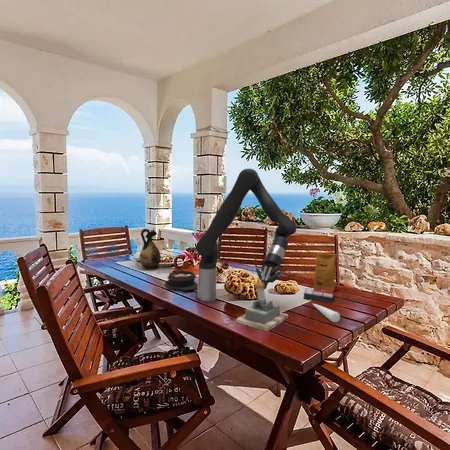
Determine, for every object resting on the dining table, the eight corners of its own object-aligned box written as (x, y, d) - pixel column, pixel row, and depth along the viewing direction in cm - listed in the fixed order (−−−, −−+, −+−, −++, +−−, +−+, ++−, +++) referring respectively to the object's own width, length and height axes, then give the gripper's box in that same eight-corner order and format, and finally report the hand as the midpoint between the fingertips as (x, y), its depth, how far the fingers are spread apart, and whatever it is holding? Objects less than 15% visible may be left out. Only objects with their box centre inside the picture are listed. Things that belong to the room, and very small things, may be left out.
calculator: (333, 296, 169) (304, 292, 175) (332, 304, 170) (303, 299, 175) (334, 290, 180) (306, 286, 185) (333, 298, 180) (306, 293, 185)
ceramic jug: (154, 265, 252) (154, 227, 249) (164, 269, 240) (164, 228, 237) (134, 268, 241) (133, 228, 238) (143, 272, 229) (142, 230, 226)
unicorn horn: (319, 304, 168) (319, 295, 168) (340, 323, 145) (341, 312, 144) (310, 304, 168) (311, 295, 167) (330, 323, 144) (330, 313, 144)
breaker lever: (261, 304, 149) (257, 281, 144) (268, 305, 146) (264, 282, 142) (258, 307, 147) (254, 284, 142) (265, 309, 145) (261, 286, 140)
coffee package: (315, 286, 200) (316, 250, 197) (336, 289, 194) (338, 252, 191) (311, 290, 191) (312, 253, 189) (332, 293, 185) (334, 255, 183)
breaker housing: (261, 309, 155) (261, 295, 155) (279, 314, 149) (280, 299, 149) (245, 318, 144) (245, 303, 143) (264, 324, 138) (264, 308, 138)
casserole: (157, 285, 198) (157, 272, 197) (181, 280, 211) (181, 267, 210) (181, 295, 180) (181, 280, 180) (207, 288, 193) (207, 274, 192)
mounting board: (258, 309, 159) (258, 306, 159) (288, 317, 150) (288, 314, 150) (236, 322, 144) (236, 318, 144) (267, 331, 135) (267, 328, 134)
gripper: (259, 250, 154) (246, 282, 145) (285, 254, 146) (272, 287, 138) (265, 259, 159) (252, 290, 150) (290, 263, 151) (277, 296, 142)
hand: (261, 289), depth 144 cm, fingers closed
